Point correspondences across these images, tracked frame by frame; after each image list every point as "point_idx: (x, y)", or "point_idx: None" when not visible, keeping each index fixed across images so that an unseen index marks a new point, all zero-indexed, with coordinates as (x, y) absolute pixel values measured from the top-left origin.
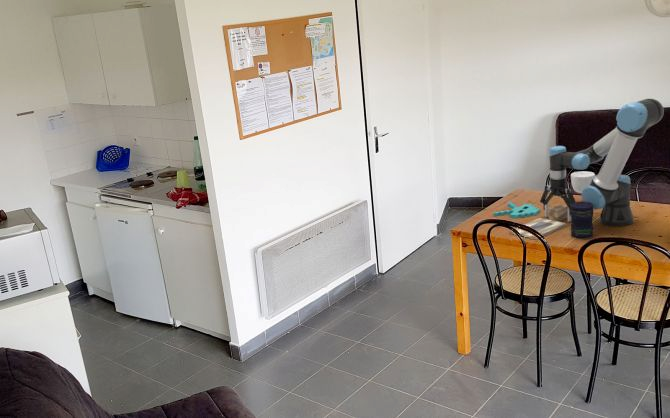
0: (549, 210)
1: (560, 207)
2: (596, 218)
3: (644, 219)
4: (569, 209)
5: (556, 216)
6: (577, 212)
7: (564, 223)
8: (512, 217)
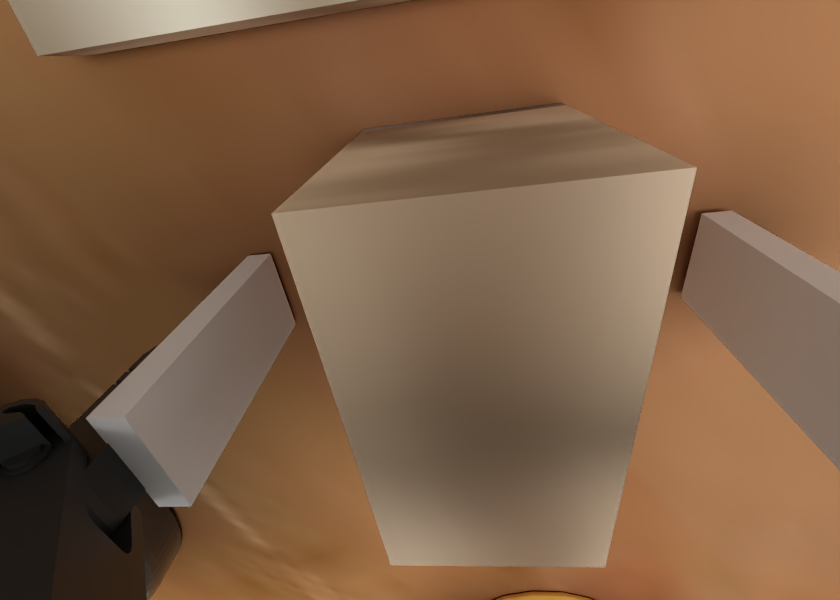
0: (623, 156)
1: (424, 447)
2: None
3: None
4: (28, 409)
5: (364, 153)
6: None
7: (37, 16)
8: None
